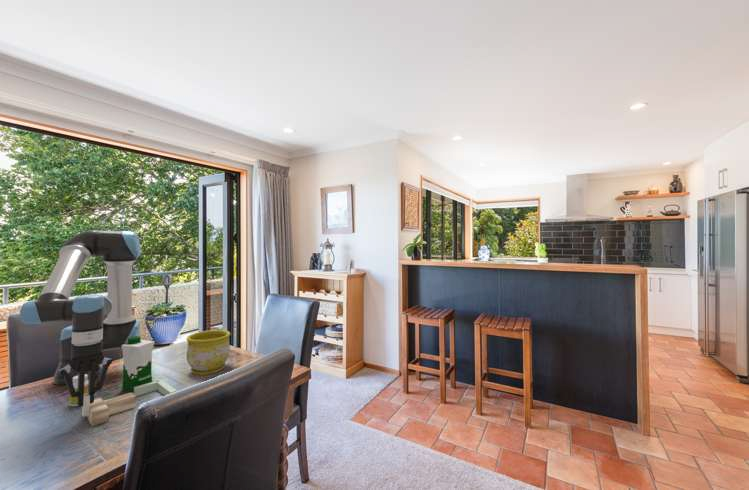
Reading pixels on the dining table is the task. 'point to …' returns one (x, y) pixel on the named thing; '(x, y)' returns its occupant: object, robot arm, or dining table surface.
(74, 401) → the supplement bottle
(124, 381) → the milk carton
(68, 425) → the dining table surface
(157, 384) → the corner stop
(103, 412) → the t block
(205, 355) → the flowerpot
